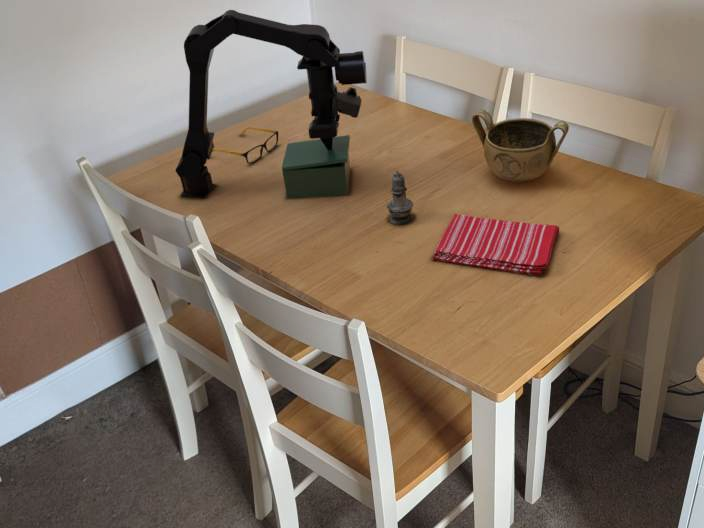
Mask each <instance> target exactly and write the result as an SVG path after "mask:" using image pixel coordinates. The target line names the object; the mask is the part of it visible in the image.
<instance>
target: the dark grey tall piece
mask: <svg viewBox="0 0 704 528" xmlns="http://www.w3.org/2000/svg"><path fill="white" fill-rule="evenodd" d="M405 180H406V179H405V175H404V174H402V173H400V171H399V170H396V171H395V173H394V174H393V175H392V176H391V188H390V192H391V193H392V195H391V196H392V198H391V200H389V201H388V202H387V204H386V208H387V209H388V212H389V213H390V216H389V218H388V221H389V222H390V223H391V224H393V225H397V226H401V225H403V226H404V225H408V224H409V223H411V222H412V221H413V219H414V217H413V215H412V214H411V212H412V211H413V210H412V209H413V207H414V202H413V200H411V199H409V198H407V191H408V188H407V187H406V181H405Z"/></svg>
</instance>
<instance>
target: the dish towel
mask: <svg viewBox="0 0 704 528" xmlns="http://www.w3.org/2000/svg"><path fill="white" fill-rule="evenodd" d="M559 233H560V226H559V225H555V224H539V223H533V222H532V223H531V222H522V221H514V220H513V221H512V220H505V219H504V220H503V219H495V218H494V219H493V218H488V217H480V216H479V217H478V216H471V215H467V214H458V213H457V214H456V213H454V214H453V216H452V219H451V220H450V222H449V224H448V226H447V227H446V229H445V231H444V233H443V235H442V236H441V238H440V241H439V242H438V244H437V246H436V247H435V250H434V252H433V254H432V256H431V259H432V260H434V261H440V262H445V263H451V264H452V263H454V264H461V265H465V266H473V267H479V268H486V269H490V270H491V269H492V270H500V271H505V272H506V271H507V272H512V273H517V274H526V275H533V276H540V277H541V276H542V274H543V271H544V270H545V269H546V268H547V267H548V264H549V262H550V259H551V256H552V250H553V247H554V244H555V242H556V239H557V236H558V235H559Z"/></svg>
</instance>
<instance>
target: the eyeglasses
mask: <svg viewBox="0 0 704 528" xmlns="http://www.w3.org/2000/svg"><path fill="white" fill-rule="evenodd" d="M247 130H256V131H262V132H265V133H270V134H272V135H271V136H270V137H269V136H268V138H267V139H266V140H265V141H264V142H263V143H262V144H259V145H256V146H254V147H253V148H251V149H249V150H247V151H245V152H239V151H232V150H226V149H219V148H214V149H213V151H212V153H213V152H217V151H218V152H222V153H225V154H231V155H236V156H239V157H244V159H245V161H246V163H247V164H249V165H250V164H251V165H252V164H255V163H256V162H257V161H259V160H261V158H262V156H263V151H264V149H265V151H266V152H267V153H271V152H272V151H273V150H275V148H276V147H277V145H278V143H279V131H278V130H274V129H267V128H260V127H253V126H248V127H245V128H244V129H243V131H242V132H241V133H240V136H244V134H245V133H246V131H247ZM274 136H276V138H275V139H276V142H275V145H274V146H273V148H271V149H269V150H268V147H267V143H268V141H269V140H271V139H272V138H273V137H274ZM259 147H260V149H259V157H258V158H257V159H255V160H254V161H250V162H249V158H248V155H249V153H250V152H251V151H253V150H255V149H257V148H259Z"/></svg>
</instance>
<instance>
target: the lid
mask: <svg viewBox="0 0 704 528" xmlns="http://www.w3.org/2000/svg"><path fill="white" fill-rule="evenodd" d="M350 143H351V136H350V135H349V134H347V135H340V136H336V137H333V144H332V150H327V148H326V147H325V145H324V144H323V142H322V141H321V139H320V138H316V139H310V140H303V141H296V142H287V145H286V149H285V153H284V155H283V160H282V165H281V171H284V170H292V169H299V168H307V167H314V166H322V165H329V164H337V163H344V162H347V161H348V153H349V151H350Z"/></svg>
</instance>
